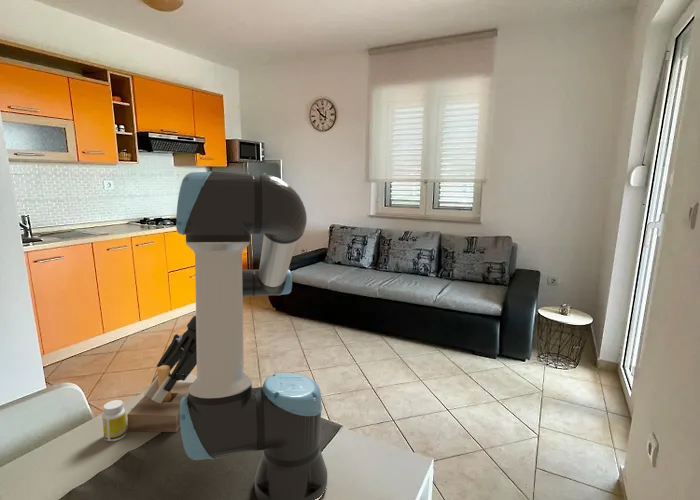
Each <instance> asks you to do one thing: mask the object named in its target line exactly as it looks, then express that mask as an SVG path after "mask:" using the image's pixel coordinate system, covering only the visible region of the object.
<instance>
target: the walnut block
mask: <svg viewBox="0 0 700 500" xmlns="http://www.w3.org/2000/svg"><path fill="white" fill-rule="evenodd" d="M192 383H193V382H187V381H177V382H176V383H175V385H174V386H173V388H172V389H171V397H172V402H161V404H159V403H157V402H155V401H153V400H151V399H152V398H149V397H147V396H145V395H144V396H143V397H142V398H141V399H140V400H139V401H138V402H137V403H136V405H134V406H133V408H132V409H131V410H129V412H128V413H127V414H126V416H127V418H126V419H127V430H128V432H132V431H133V432H165V433H167V432H168V433H169V432H170V433H177V432H178V430H179V429H181V427H180V402H181V399H182V397H184V396H186V395H189V386H190V385H191V384H192Z"/></svg>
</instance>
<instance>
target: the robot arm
mask: <svg viewBox="0 0 700 500" xmlns="http://www.w3.org/2000/svg"><path fill="white" fill-rule="evenodd" d="M177 197H178V199H177V206H176V213H175V214H176V218H175V219H176V225H175V226H176V227H175V228H176V232H177V233H178V234H179V235H182V236H184V235H185V245H187V246H188V248H190V250H192V251H193V253H194V264H195V265H194V266H195V268H194V270H195V271H194V273H195V274H194V275H195V277H194V279H195V281H194V282H195V315H193V316H192V317H191V319H190V320H189V322H188V323H187V325H186V328H187V330H186V331H185V332H184V333H182V334H180V335H179V334H177V333H176V334H174V336H173V338H172V340H171V343H170V344H169V346H168V347H167V348H166V350H165V352H164V354H163V355H162V357H161V358H160V360H159V361H158V362H157V364H156V367H157V368H158V367H160V366H163V365H168V366H170V371H172V372H171V373H170V374H169V375H168V376H167V378H166V379H165V380H164V382H163V383H162V385H161V386H160V387H159V389H158V373H157V374H156V375H155V377H154V378H153V379H152V381H151V383H150V385H149V387H148V388H147V389H146V390H145V392H144V394H143V395H144V396H147V397H149V398H152V399H151V400H153V401H155V402H157V403H159V404H161V402H162V401H163V399H164V398H165V396H166V395H167V393H168V392H170V391H171V389H172V388H173V386H174V385H175V383H176V382H180V381H181V382H185V380H186V379H187V378H188V377H189V375H190V374H191V372H192V371H193V370H194V369H195V367H196V379H195V380H194V381H192V382H191V383H192V384H191V385H190V386H189V395H186V396H184V397H182V399H181V402H180V434H181V439H182V445H183V449H184V452H185V454H186V456H187V457H188V458H189V459H190V460H193V461H201V460H215V459H216V458H224V457H230V456H233V455H234V456H235V455H242V454H247V453H254V452H258V451H263V452H262V456H261V459H260V461H259V464H258V467H257V469H256V472H255V475H254V476H255V477H254V493H255V496H256V499H257V500H315V499H317V498H319V497H320V496H321V495H322V494H323V492H324V491H325V489H326V490H327V488H326V486H327V487H328V469H327V465H326V463H325V459H324V457H323V453H322V451H321V425H322V423H321V422H322V410H323V405H322V392H321V389H320V387H319V385H318V383H316V381H315V380H313V379H311V378H310V377H308V376H305V375H303V374H301V373H295V372H277V373H273V375H269V376H268V377H266V379H265V380H264V382H263V384H262V386H259V387H253V381H252V380H253V379H252V378H250V377H249V376H248V375H247V374H246V373H245V368H244V363H245V362H244V315H243V314H244V310H243V309H244V305H243V304H244V300H243V299H244V298H245V297H247V298H248V297H261V296H262V297H265V296H267V297H268V296H269V297H270V296H277V297H278V296H282V295H289V294H291V292H292V289H293V275H292V271H291V270H290V269H289V268H290V266H291V265H290V264H291V262H292V258H293V255H294V251H295V248H296V245H297V242H298V241H299V240H301V238H302V237H303V235H304V233H305V229H306V226H307V211H306V206H305V205H304V202H303V200H302V199H301V197H300V195H299V193H298V192H297V191H296V190H295V189H294V188H293V187H292V186H291V185H290V184H289V183H287V182H286V181H284V180H283V179H281V178H280V177H277V176H274V175H271V174H264V173H263V174H262V173H259V174H253V173H239V172H227V171H226V172H224V171H193V172H189V173H187V174H186V175H185V176H184V177H183V179H182V180H181V184H180V188H179V193H178V196H177ZM262 234H263V238H262V244H261V245H262V246H261V253H260V255H261V256H260V261H259V269H243V251H244V250H245V249H246V248H248V246H249V245H250V243H251V235H262ZM173 368H174V369H173ZM172 369H173V370H172ZM325 492H326V491H325Z"/></svg>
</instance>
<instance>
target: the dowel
mask: <svg viewBox="0 0 700 500" xmlns="http://www.w3.org/2000/svg"><path fill="white" fill-rule="evenodd" d="M156 370H157V374H158V389H159V387H160V386H161V385H162V383H163V382H164V380H165V379H166V378H167V376H168V375H169V374H171V370H170V366H168V365H163V366H160V367H157V368H156ZM162 402H172V397H171V391H170V392H168V393H167V395H166V396H165V398H164V399H163V401H162Z"/></svg>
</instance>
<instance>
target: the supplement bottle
mask: <svg viewBox="0 0 700 500" xmlns="http://www.w3.org/2000/svg"><path fill="white" fill-rule="evenodd" d="M126 416H127V414H126V410H125V408H124V402H123V401H122V400H121V399H120V400H119V399H115V400H111V401H108V402H106V403H104V405H103V413H102V428H103V438H104V441H107V442H116V441H119V440H121V439H123V438H124V437H125V436H126V435H127V430H128V427H127V418H126Z"/></svg>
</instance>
